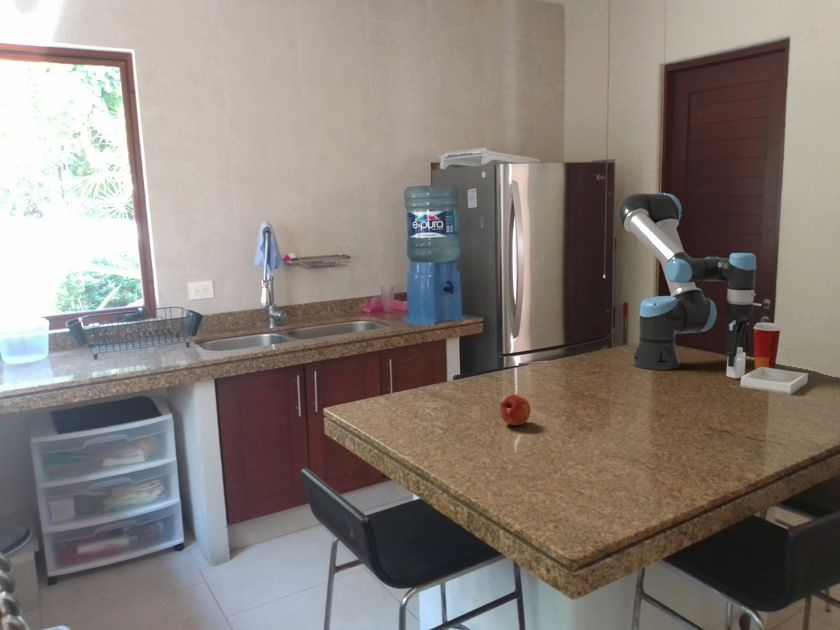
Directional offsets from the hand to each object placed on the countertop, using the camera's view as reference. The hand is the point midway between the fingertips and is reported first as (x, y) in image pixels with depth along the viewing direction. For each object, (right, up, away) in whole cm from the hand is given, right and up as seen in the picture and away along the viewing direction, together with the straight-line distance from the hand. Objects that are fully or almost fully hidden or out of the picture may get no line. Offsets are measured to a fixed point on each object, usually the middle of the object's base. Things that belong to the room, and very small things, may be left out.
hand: (735, 373), depth 212 cm
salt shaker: (0, -1, 0) cm, 1 cm away
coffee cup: (+15, +1, +11) cm, 18 cm away
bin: (+7, -2, -9) cm, 12 cm away
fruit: (-76, -9, -43) cm, 88 cm away
